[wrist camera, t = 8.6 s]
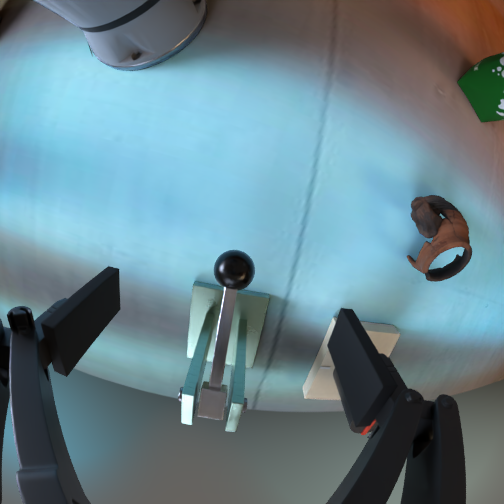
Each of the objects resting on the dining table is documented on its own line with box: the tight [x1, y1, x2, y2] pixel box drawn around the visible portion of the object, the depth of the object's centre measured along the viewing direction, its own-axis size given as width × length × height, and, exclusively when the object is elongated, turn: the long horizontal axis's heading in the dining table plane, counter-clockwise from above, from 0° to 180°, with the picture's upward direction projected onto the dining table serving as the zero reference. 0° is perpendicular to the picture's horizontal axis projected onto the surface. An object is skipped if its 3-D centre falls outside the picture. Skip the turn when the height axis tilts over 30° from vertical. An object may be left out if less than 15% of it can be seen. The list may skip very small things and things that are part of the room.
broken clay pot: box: [407, 195, 472, 282], centre depth 27 cm, size 12×9×8 cm
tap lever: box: [198, 250, 255, 420], centre depth 23 cm, size 15×4×4 cm, turn 171°
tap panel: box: [303, 317, 400, 400], centre depth 34 cm, size 13×10×3 cm
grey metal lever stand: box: [178, 281, 269, 432], centre depth 27 cm, size 11×9×15 cm
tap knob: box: [333, 368, 378, 435], centre depth 28 cm, size 6×6×10 cm
